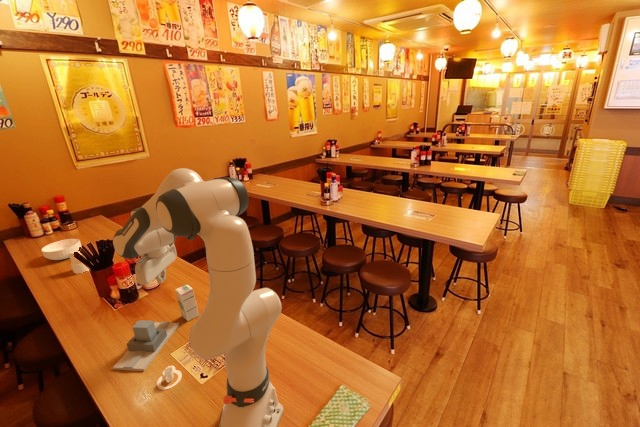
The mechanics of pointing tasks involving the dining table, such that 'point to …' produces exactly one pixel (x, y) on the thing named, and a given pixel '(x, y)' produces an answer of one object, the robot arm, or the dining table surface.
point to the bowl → (61, 249)
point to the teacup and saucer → (169, 377)
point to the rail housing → (145, 348)
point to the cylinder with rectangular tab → (77, 263)
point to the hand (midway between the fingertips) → (162, 281)
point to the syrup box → (187, 302)
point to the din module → (144, 331)
